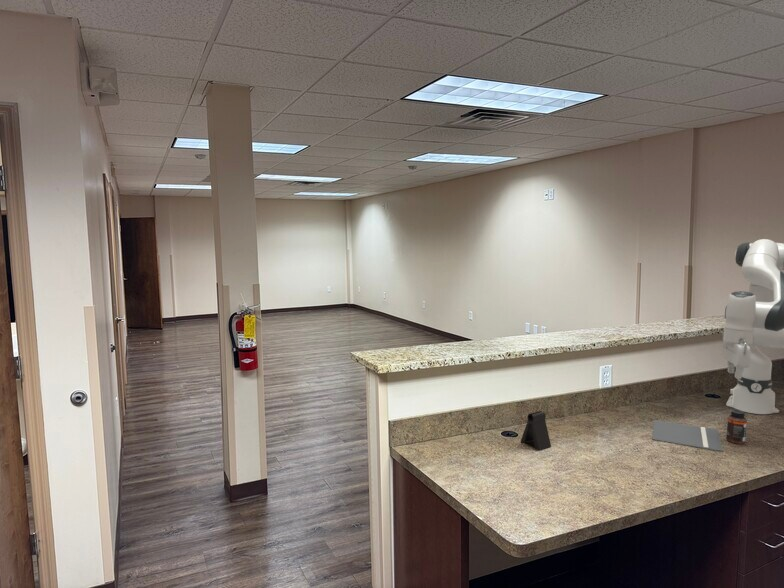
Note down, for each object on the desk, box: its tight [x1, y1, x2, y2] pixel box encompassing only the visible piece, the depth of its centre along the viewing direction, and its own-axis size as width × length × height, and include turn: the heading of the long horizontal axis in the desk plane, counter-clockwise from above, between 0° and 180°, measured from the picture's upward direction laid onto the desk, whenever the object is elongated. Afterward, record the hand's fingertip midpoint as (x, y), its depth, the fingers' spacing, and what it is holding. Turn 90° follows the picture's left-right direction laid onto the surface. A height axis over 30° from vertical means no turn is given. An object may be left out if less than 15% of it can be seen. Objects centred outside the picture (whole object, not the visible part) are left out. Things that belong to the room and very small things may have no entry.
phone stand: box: [520, 410, 552, 451], centre depth 187 cm, size 9×6×12 cm, turn 31°
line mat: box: [652, 419, 723, 453], centre depth 196 cm, size 22×22×1 cm
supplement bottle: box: [726, 409, 748, 445], centre depth 189 cm, size 6×6×11 cm
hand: (734, 375), depth 186 cm, fingers open, 8 cm apart
